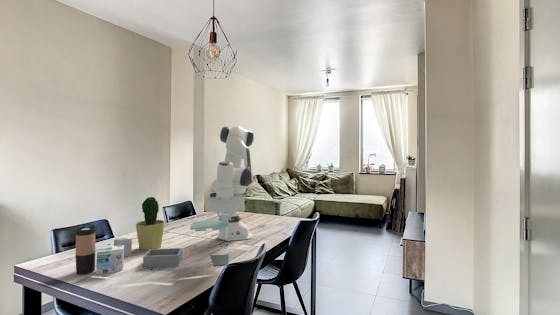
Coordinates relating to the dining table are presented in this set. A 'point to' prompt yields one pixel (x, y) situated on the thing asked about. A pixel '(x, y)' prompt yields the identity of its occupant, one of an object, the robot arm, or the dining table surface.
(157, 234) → the potted cactus
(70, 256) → the dining table surface
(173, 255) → the tub
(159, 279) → the dining table surface
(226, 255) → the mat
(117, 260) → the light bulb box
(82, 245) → the travel mug
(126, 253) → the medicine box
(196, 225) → the lid
